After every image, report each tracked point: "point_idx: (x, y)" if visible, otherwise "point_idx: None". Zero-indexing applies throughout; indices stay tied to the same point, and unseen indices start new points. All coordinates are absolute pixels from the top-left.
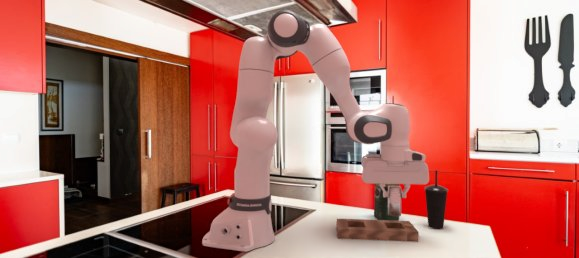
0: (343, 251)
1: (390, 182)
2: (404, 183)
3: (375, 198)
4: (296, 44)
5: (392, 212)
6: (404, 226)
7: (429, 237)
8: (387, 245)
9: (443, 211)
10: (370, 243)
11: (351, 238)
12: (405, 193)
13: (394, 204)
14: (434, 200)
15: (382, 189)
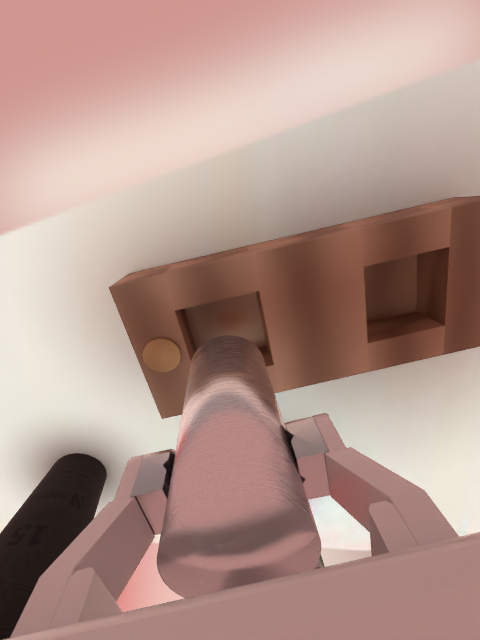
0: (442, 85)
1: (323, 589)
2: (78, 627)
3: (321, 559)
4: None
5: (240, 345)
6: (178, 341)
7: (93, 367)
8: (250, 226)
9: (3, 529)
10: (319, 225)
11: (408, 210)
12: (125, 490)
13: (230, 374)
14: (5, 582)
15: (381, 466)
